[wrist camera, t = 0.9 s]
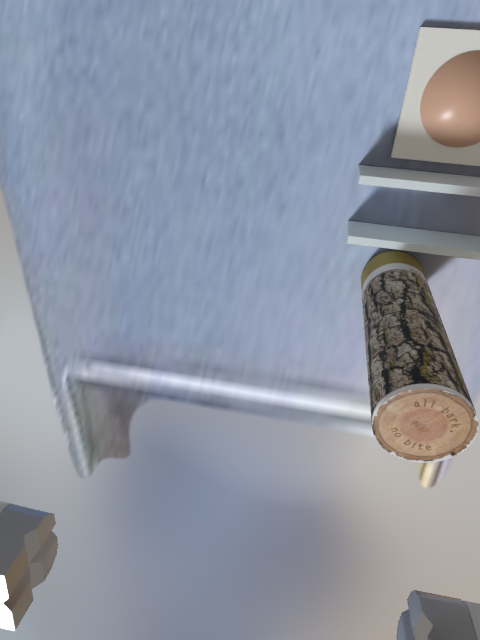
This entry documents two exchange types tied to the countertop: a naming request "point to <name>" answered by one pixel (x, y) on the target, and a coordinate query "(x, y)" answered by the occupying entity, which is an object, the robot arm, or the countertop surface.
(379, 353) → the wooden log
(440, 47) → the resting pad
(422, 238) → the low walls
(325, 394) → the countertop surface
